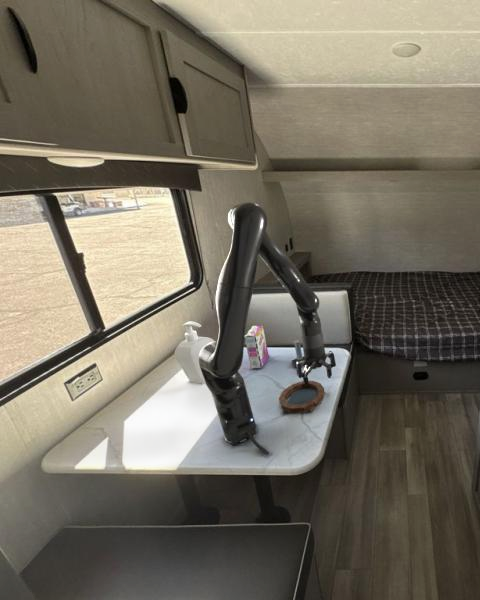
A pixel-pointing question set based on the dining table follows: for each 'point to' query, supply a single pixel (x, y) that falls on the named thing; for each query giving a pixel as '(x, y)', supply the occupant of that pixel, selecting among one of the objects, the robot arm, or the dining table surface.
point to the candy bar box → (256, 347)
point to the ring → (305, 406)
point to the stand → (298, 353)
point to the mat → (302, 397)
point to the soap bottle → (191, 353)
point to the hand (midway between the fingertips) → (318, 380)
